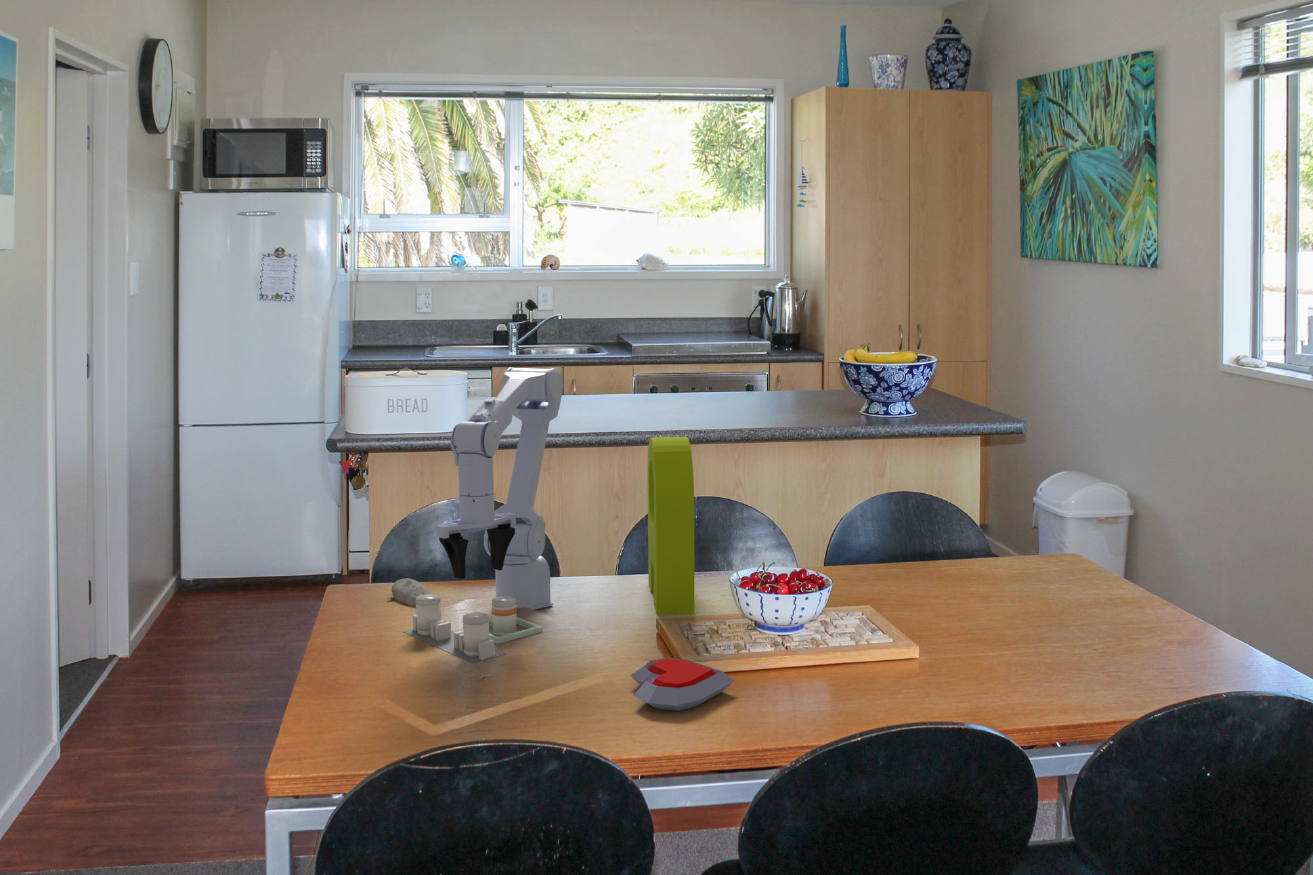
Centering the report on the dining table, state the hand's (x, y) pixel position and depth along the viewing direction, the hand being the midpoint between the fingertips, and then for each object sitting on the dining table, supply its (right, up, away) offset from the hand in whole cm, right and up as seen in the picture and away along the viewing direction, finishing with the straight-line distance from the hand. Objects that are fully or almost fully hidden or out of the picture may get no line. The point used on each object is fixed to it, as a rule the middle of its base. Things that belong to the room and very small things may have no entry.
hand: (478, 573), depth 196 cm
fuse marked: (+4, -10, 0) cm, 11 cm away
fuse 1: (-8, -10, -1) cm, 13 cm away
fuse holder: (-3, -11, -6) cm, 13 cm away
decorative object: (+32, -7, +21) cm, 39 cm away
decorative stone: (-15, -8, +20) cm, 26 cm away
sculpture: (+34, -15, -26) cm, 45 cm away
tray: (+4, -11, 0) cm, 11 cm away
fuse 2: (+1, -11, -11) cm, 16 cm away
